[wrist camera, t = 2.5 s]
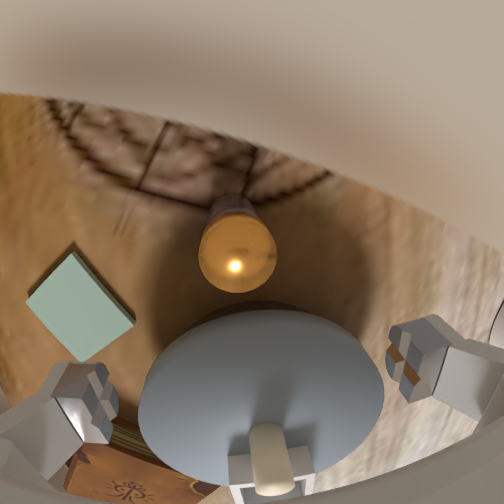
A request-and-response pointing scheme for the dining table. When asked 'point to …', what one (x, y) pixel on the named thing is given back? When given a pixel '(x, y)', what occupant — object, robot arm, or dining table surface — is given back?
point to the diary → (130, 472)
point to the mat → (79, 309)
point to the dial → (260, 402)
